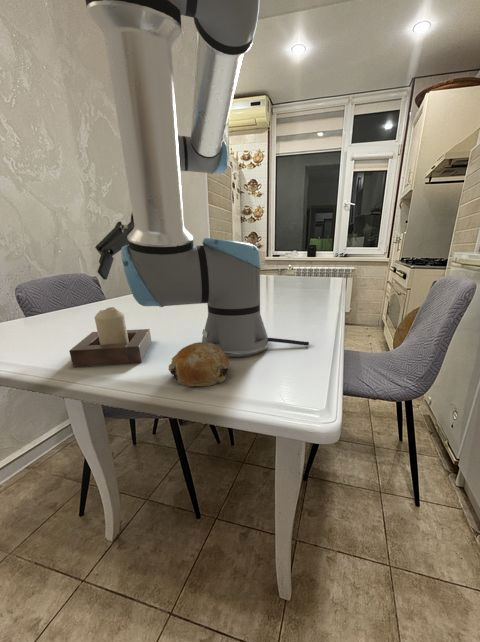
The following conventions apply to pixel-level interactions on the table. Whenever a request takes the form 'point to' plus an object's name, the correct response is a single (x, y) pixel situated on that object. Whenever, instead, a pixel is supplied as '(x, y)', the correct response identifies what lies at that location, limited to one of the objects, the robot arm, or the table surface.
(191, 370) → the bread roll
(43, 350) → the table surface
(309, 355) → the table surface
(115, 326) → the candle
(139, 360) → the candle block
